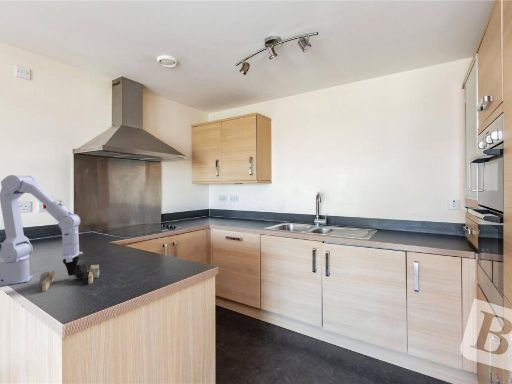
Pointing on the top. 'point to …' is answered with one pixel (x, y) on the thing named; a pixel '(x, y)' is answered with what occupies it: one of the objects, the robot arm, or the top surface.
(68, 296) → the top surface
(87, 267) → the power plug
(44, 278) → the guide channel
